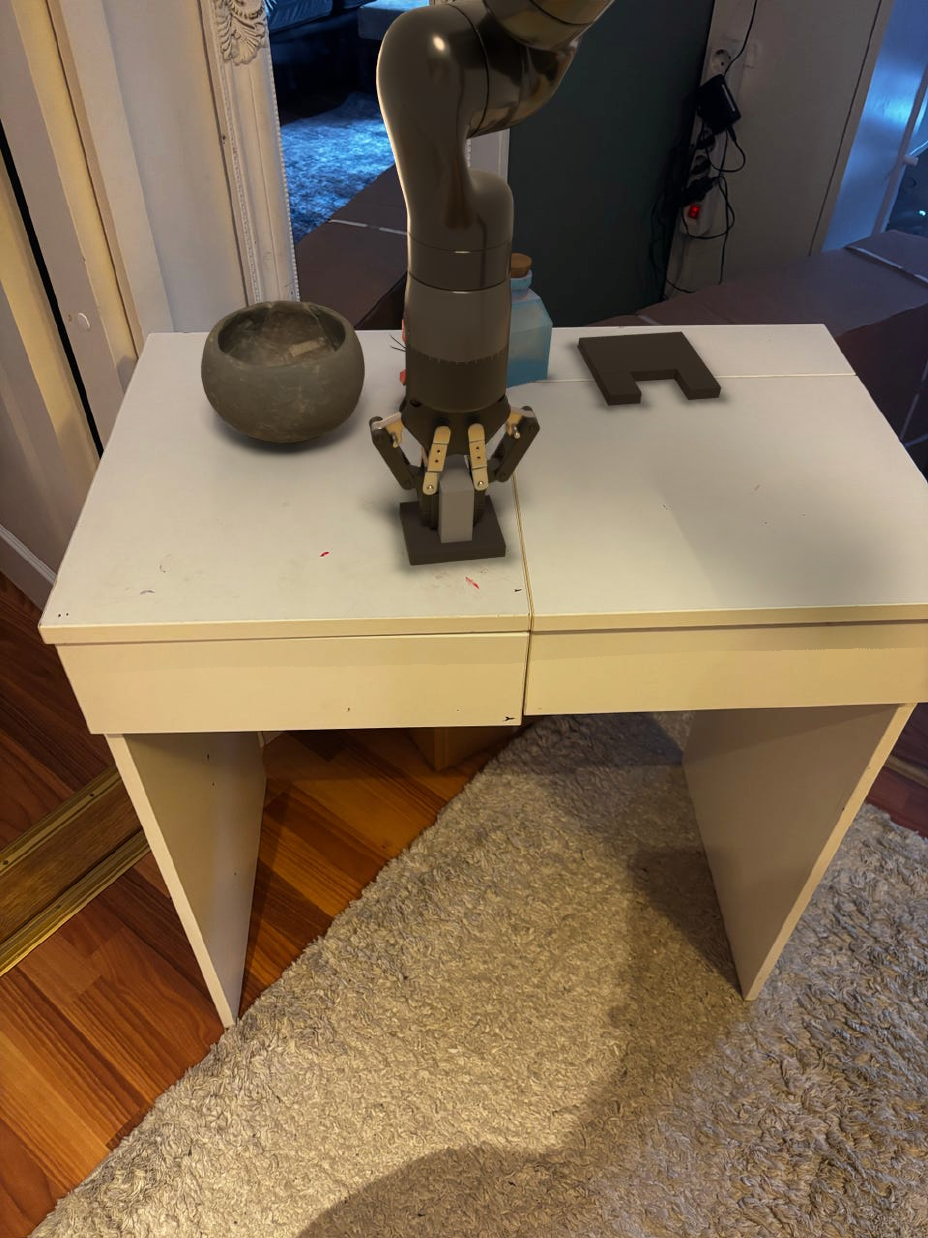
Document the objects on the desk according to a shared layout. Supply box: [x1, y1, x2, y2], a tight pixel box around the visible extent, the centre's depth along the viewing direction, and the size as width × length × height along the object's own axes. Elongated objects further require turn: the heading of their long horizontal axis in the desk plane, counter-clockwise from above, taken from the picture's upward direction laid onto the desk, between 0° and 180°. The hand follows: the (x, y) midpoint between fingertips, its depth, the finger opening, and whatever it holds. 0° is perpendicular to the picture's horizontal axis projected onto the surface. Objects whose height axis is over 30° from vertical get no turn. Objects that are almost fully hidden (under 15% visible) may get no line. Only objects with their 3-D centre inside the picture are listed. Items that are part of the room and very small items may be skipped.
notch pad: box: [577, 331, 722, 406], centre depth 100 cm, size 12×12×1 cm
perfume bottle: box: [506, 252, 554, 389], centre depth 95 cm, size 6×6×12 cm
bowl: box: [200, 299, 366, 444], centre depth 87 cm, size 15×15×10 cm
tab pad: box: [398, 454, 507, 566], centre depth 79 cm, size 8×11×6 cm
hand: (451, 519), depth 79 cm, fingers closed on tab pad, 2 cm apart
